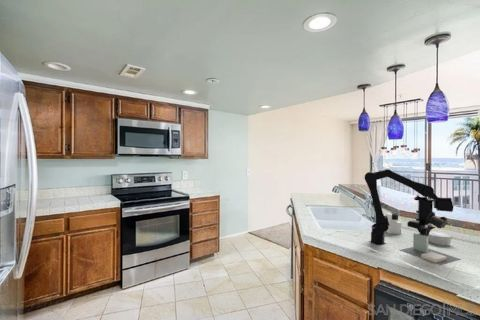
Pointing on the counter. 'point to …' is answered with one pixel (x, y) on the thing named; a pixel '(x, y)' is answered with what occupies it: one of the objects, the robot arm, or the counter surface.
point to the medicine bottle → (393, 224)
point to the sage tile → (420, 242)
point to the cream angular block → (433, 257)
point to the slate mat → (418, 253)
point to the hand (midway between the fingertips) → (424, 240)
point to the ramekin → (439, 238)
